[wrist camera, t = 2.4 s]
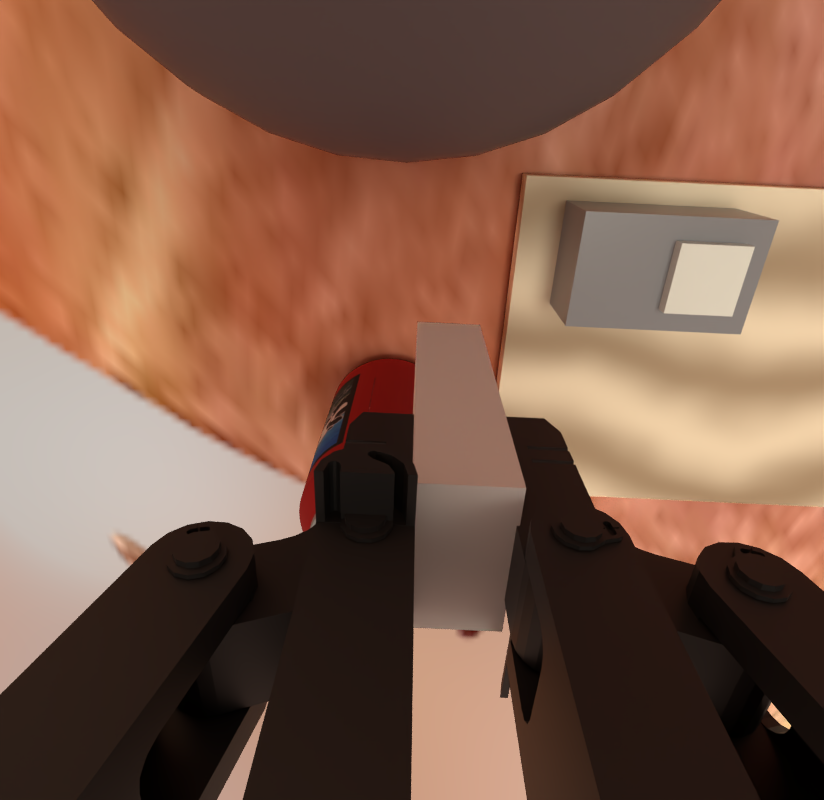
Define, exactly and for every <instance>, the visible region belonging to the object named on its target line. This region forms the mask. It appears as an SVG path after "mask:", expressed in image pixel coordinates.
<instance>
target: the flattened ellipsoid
mask: <svg viewBox="0 0 824 800" xmlns="http://www.w3.org/2000/svg"><path fill="white" fill-rule="evenodd" d="M92 1H93V2H94V3H95V4H96V5H97V7H98V8H99V9H100V10H101V11H102V12H103V13H104V14H105V16H106V17H107V18H108V19H109V20H110V21H111V22H112V23H113V24H114V26H115V27H116V28H117V29H118V30H120V31H121V32H122V33H123V34H125V35H126V36H127V37H128V38H129V39H131V40H132V41H133V42H134V43H136V44H137V45H138V46H139V47H141V48H142V49H143V50H144V51H145V52H147V53H148V54H149V55H150V56H152V57H153V58H154V59H155V60H157V61H158V62H159V63H160V64H161V65H163V66H164V67H165V68H166V69H168V70H169V71H170V72H171V73H173V74H174V75H175V76H176V77H177V78H179V79H180V80H181V81H182V82H184V83H185V84H186V85H187V86H189V87H190V88H192V89H193V90H195V91H196V92H198V93H199V94H201V95H202V96H204V97H206V98H208V99H209V100H211V101H213V102H215V103H217V104H218V105H220V106H222V107H224V108H226V109H227V110H229V111H231V112H233V113H235V114H236V115H238V116H240V117H242V118H244V119H245V120H247V121H249V122H251V123H253V124H254V125H256V126H258V127H260V128H262V129H263V130H265V131H267V132H269V133H272V134H275V135H278V136H281V137H284V138H287V139H290V140H293V141H296V142H299V143H302V144H305V145H308V146H312V147H315V148H318V149H321V150H324V151H327V152H330V153H333V154H336V155H342V156H351V157H360V158H369V159H379V160H388V161H397V162H406V163H408V162H417V161H427V160H437V159H447V158H456V157H466V156H476V155H479V154H482V153H485V152H488V151H492V150H495V149H498V148H501V147H504V146H507V145H510V144H513V143H517V142H520V141H523V140H526V139H529V138H532V137H535V136H539V135H542V134H545V133H547V132H549V131H550V130H552V129H554V128H556V127H558V126H559V125H561V124H563V123H565V122H567V121H568V120H570V119H572V118H574V117H576V116H578V115H579V114H581V113H583V112H585V111H587V110H588V109H590V108H592V107H594V106H596V105H597V104H599V103H601V102H603V101H605V100H607V99H608V98H610V97H612V96H614V95H615V94H616V93H617V92H619V91H620V90H621V89H622V88H624V87H625V86H626V85H627V84H628V83H630V82H631V81H632V80H633V79H635V78H636V77H637V76H638V75H640V74H641V73H642V72H643V71H644V70H646V69H647V68H648V67H649V66H651V65H652V64H653V63H654V62H655V61H657V60H658V59H659V58H660V57H662V56H663V55H664V54H665V53H667V52H668V51H669V50H670V49H671V48H673V47H674V46H675V45H676V44H678V43H679V42H680V41H681V40H683V39H684V38H685V37H686V36H687V35H689V34H690V33H691V32H692V31H693V30H695V29H696V28H697V27H698V26H699V25H700V24H701V23H702V21H703V20H704V19H705V18H706V17H707V16H708V15H709V14H710V12H711V11H712V10H713V9H714V8H715V7H716V6H717V5H718V3H719V2H720V1H721V0H92Z"/></svg>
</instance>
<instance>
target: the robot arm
mask: <svg viewBox="0 0 824 800" xmlns="http://www.w3.org/2000/svg"><path fill="white" fill-rule="evenodd" d="M314 490H315V511H316V524H315V525H314V526H313V527H311V528H310V529H308V530H307V531H304V532H302V533H300V534H298V535H296V536H293V537H289V538H285V539H282V540H277V541H271V542H266V543H261V544H255V545H253V541H252V538H251V537H250V536H249V535H248V534H247V533H246V532H245V531H244V529H242V528H240V527H237V526H235V525H232V524H230V523H225V522H212V521H208V522H201V523H195V524H190V525H186V526H184V527H181V528H179V529H177V530H174V531H172V532H169V533H167V534H166V535H165V536H163V537H162V538H160V539H159V540H158V541H156V542H155V543H154V544H152V545H151V546H150V547H149V548H148V549H147V550H146V551H145V552H144V553H143V554H142V555H141V556H140V557H139V558H138V559H137V560H136V561H135V562H134V563H133V564H132V565H131V566H130V567H129V568H128V569H127V570H126V571H125V572H124V573H123V574H122V575H121V576H120V577H119V578H118V579H117V580H116V581H115V582H114V583H113V584H112V585H111V586H110V587H108V589H107V590H105V592H103V594H102V595H100V596H99V598H97V599H96V600H95V601H94V602H93V603H92V604H91V605H90V606H89V607H88V608H87V609H86V610H85V611H84V612H83V613H82V614H81V615H80V616H79V617H78V618H77V619H76V620H75V621H74V622H73V623H72V624H71V625H70V626H69V627H68V628H67V629H66V630H65V631H64V632H63V633H62V634H61V635H60V636H59V637H58V638H57V639H56V640H55V641H54V642H53V643H52V644H51V645H50V646H49V647H48V648H47V649H46V650H45V651H44V652H43V653H42V654H41V655H40V656H39V657H38V658H37V659H36V660H35V661H34V662H33V663H32V664H31V665H30V666H29V667H28V668H27V669H26V670H25V671H24V672H23V673H22V674H21V675H20V676H19V677H18V678H17V679H16V680H15V681H14V682H13V683H11V684H10V685H9V687H7V689H6V690H4V691H3V692H2V693H1V694H0V800H217V798H218V796H219V794H220V793H221V791H222V789H223V787H224V785H225V783H226V781H227V780H228V778H229V776H230V774H231V772H232V770H233V768H234V766H235V764H236V762H237V761H238V759H239V757H240V755H241V753H242V751H243V749H244V747H245V745H246V743H247V742H248V740H249V738H250V736H251V734H252V732H253V730H254V728H255V726H256V725H257V723H258V720H259V719H260V717H261V715H262V713H263V711H264V709H265V707H266V703H267V702H268V701H269V702H268V706H267V710H266V713H265V717H264V721H263V725H262V729H261V732H260V736H259V740H258V744H257V747H256V751H255V755H254V759H253V763H252V767H251V770H250V774H249V778H248V782H247V786H246V790H245V793H244V797H243V800H411V755H412V753H411V752H412V688H413V685H412V684H413V628H435V629H456V630H479V631H502V629H503V622H504V617H505V611H506V612H507V618H508V623H509V629H510V638H509V644H508V649H507V655H506V660H505V666H504V672H503V677H502V683H501V695H500V697H501V698H508V694H509V688H510V690H511V697H512V703H513V710H514V717H515V723H516V730H517V737H518V743H519V750H520V756H521V763H522V769H523V776H524V782H525V789H526V795H527V800H824V591H823V590H822V589H820V588H819V587H818V586H817V585H816V584H815V583H813V582H812V581H811V580H810V579H809V578H808V577H807V576H805V575H804V574H803V573H802V572H801V571H799V570H798V569H796V568H795V567H793V566H792V565H791V564H789V563H788V562H786V561H785V560H783V559H782V558H780V557H778V556H775V555H773V554H771V553H769V552H767V551H764V550H762V549H760V548H757V547H753V546H749V545H745V544H741V543H724V542H718V543H716V544H713V545H710V546H707V547H705V548H704V549H703V551H702V552H701V553H700V555H699V556H698V558H697V561H696V564H695V565H693V564H689V563H685V562H681V561H678V560H674V559H670V558H666V557H663V556H659V555H655V554H652V553H649V552H646V551H643V550H641V549H638V548H636V547H635V546H634V544H633V542H632V540H631V538H630V536H629V535H628V533H627V532H626V531H625V529H624V528H623V527H622V526H621V524H620V523H619V522H617V521H616V520H614V519H613V518H612V517H610V516H609V515H607V514H606V513H604V512H602V511H599V510H597V509H595V507H594V505H593V503H592V501H591V498H590V496H589V494H588V492H587V489H586V487H585V485H584V483H583V480H582V478H581V476H580V474H579V472H578V469H577V467H576V465H574V460H573V458H572V456H571V454H570V451H568V447H567V445H566V442H565V440H564V438H563V436H562V434H561V432H560V431H559V430H558V429H556V428H555V427H554V426H553V425H552V424H550V423H549V422H548V421H547V420H546V419H544V418H527V417H506V415H505V411H504V408H503V404H502V401H501V397H500V394H499V390H498V387H497V383H496V380H495V376H494V373H493V369H492V365H491V362H490V358H489V355H488V351H487V348H486V344H485V341H484V337H483V334H482V330H481V327H480V325H474V324H453V323H432V322H417V341H416V361H415V381H414V402H413V414H400V413H378V412H363V413H361V414H360V415H359V416H358V417H357V418H356V419H355V420H354V421H353V422H352V423H350V424H349V428H348V432H347V436H346V443H345V445H344V449H341V450H337V451H334V452H332V453H331V454H329V455H328V456H326V457H324V458H323V459H321V460H320V462H319V463H318V465H317V466H316V468H315V469H314ZM771 702H772V703H773V704H774V706H775V707H776V708H777V709H778V710H779V712H780V713H781V714H782V715H783V716H784V717H785V719H786V720H787V721H788V722H789V723H790V725H791V728H790V729H787V728H785V727H784V726H782V725H780V724H779V723H778V722H777V721H776V720H775V719H774V718H773V717H772V716H771V714H770V713H769V712H768V711H767V710H768V708H769V706H770V704H771Z"/></svg>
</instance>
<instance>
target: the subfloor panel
mask: <svg viewBox="0 0 824 800" xmlns="http://www.w3.org/2000/svg"><path fill="white" fill-rule="evenodd" d="M566 200H571V201H592V202H612V203H633V204H654V205H675V206H696V207H717V208H736V209H740V210H744V211H747V212H751V213H754V214H758V215H762V216H765V217H769V218H772V219H776V220H779V223H778V226H777V229H776V231H775V234H774V237H773V240H772V243H771V246H770V249H769V252H768V255H767V258H766V261H765V264H764V267H763V270H762V273H761V276H760V279H759V282H758V285H757V288H756V291H755V293H754V296H753V299H752V302H751V305H750V308H749V311H748V314H747V317H746V320H745V323H744V326H743V329H742V332H741V334H720V333H699V332H678V331H657V330H636V329H615V328H594V327H573V326H565V325H564V323H563V322H562V321H561V319H560V318H559V316H558V315H557V313H556V312H555V310H554V309H553V307H552V306H551V305H550V298H551V292H552V286H553V279H554V273H555V267H556V261H557V255H558V249H559V243H560V237H561V231H562V224H563V218H564V212H565V206H566ZM496 383H497V387H498V390H499V394H500V397H501V401H502V404H503V408H504V411H505V415H506V417H527V418H544V419H546V420H547V421H548V422H549V423H550V424H552V425H553V426H554V427H555V428H556V429H558V430H559V431H560V432H561V434H562V436H563V438H564V440H565V442H566V445H567V447H568V451H570V454H571V456H572V458H573V460H574V465H576V467H577V469H578V472H579V474H580V476H581V478H582V480H583V483H584V485H585V487H586V489H587V492H588V494H589V496H597V497H618V498H639V499H660V500H682V501H703V502H724V503H745V504H767V505H788V506H809V507H824V188H821V187H800V186H779V185H759V184H738V183H717V182H696V181H675V180H654V179H633V178H613V177H592V176H571V175H550V174H529V173H523V176H522V184H521V191H520V199H519V207H518V215H517V223H516V231H515V239H514V247H513V255H512V263H511V271H510V279H509V287H508V295H507V303H506V311H505V318H504V326H503V334H502V342H501V350H500V358H499V366H498V374H497V382H496Z"/></svg>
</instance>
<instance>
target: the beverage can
mask: <svg viewBox="0 0 824 800" xmlns="http://www.w3.org/2000/svg"><path fill="white" fill-rule="evenodd" d="M414 381H415V364H413V363H411V362H408V361H404V360H398V359H380V360H375V361H371V362H368V363H366V364H363V365H361V366H359V367H358V368H356V369H355V370H353V371H352V372H351V373H349V374H348V375H347V376H346V377H345V378H344V380H343V381H342V382H341V384H340V385H339V387H338V389H337V392H336V394H335V397H334V400H333V402H332V405H331V408H330V411H329V414H328V417H327V420H326V422H325V425H324V428H323V431H322V434H321V437H320V440H319V443H318V446H317V450H316V453H315V456H314V459H313V462H312V465H311V468H310V471H309V475H308V478H307V481H306V484H305V488H304V491H303V494H302V498H301V501H300V510H299V513H300V522H301V526H302V530H303V532H304V531H307V530H308V529H310V528H311V527H313V526H314V525H315V524H316V511H315V490H314V469H315V468H316V466H317V465H318V463H319V462H320V460H321V459H323V458H324V457H326V456H328V455H329V454H331V453H332V452H334V451H337V450H341V449H344V445H345V443H346V436H347V432H348V428H349V424H350V423H352V422H353V421H354V420H355V419H356V418H357V417H358V416H359V415H360V414H361V413H363V412H378V413H400V414H413V402H414Z"/></svg>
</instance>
